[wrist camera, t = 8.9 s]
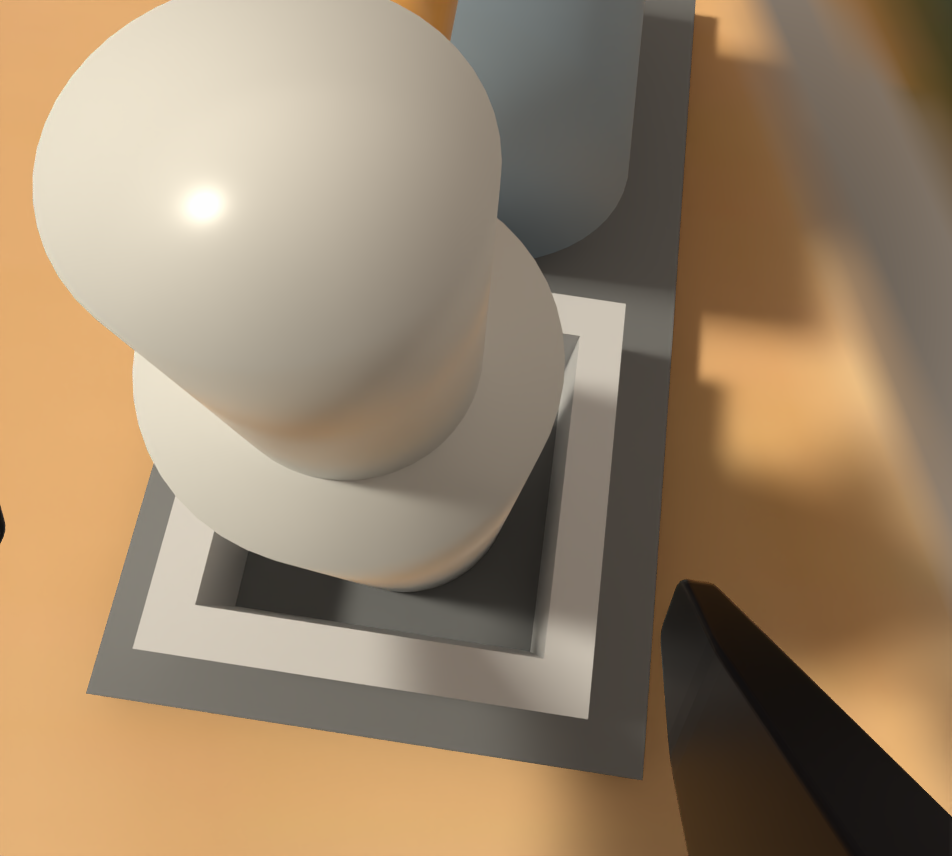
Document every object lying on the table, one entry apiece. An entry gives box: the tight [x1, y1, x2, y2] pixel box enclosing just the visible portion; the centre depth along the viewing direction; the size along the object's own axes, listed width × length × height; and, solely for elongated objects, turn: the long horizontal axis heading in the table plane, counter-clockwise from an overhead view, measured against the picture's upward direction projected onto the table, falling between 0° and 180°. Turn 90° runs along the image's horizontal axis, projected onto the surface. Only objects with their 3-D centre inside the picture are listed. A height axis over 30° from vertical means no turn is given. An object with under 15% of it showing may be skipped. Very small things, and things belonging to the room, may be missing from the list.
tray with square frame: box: [86, 0, 695, 780], centre depth 14 cm, size 24×13×10 cm, turn 172°
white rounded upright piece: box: [33, 0, 565, 592], centre depth 11 cm, size 7×5×12 cm
